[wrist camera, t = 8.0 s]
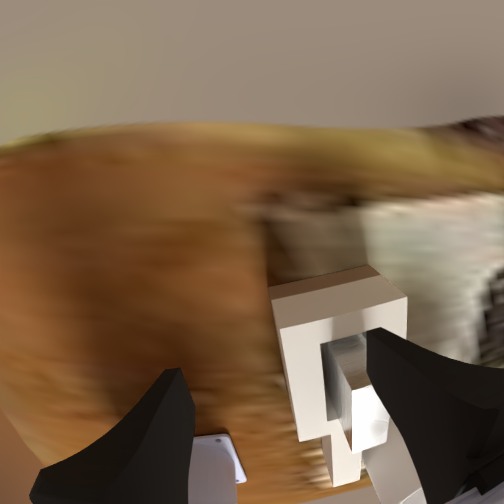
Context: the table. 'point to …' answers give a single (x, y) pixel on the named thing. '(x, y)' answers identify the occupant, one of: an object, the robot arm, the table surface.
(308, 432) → the slotted upright plate
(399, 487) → the mug
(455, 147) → the table surface
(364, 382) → the white upright block
